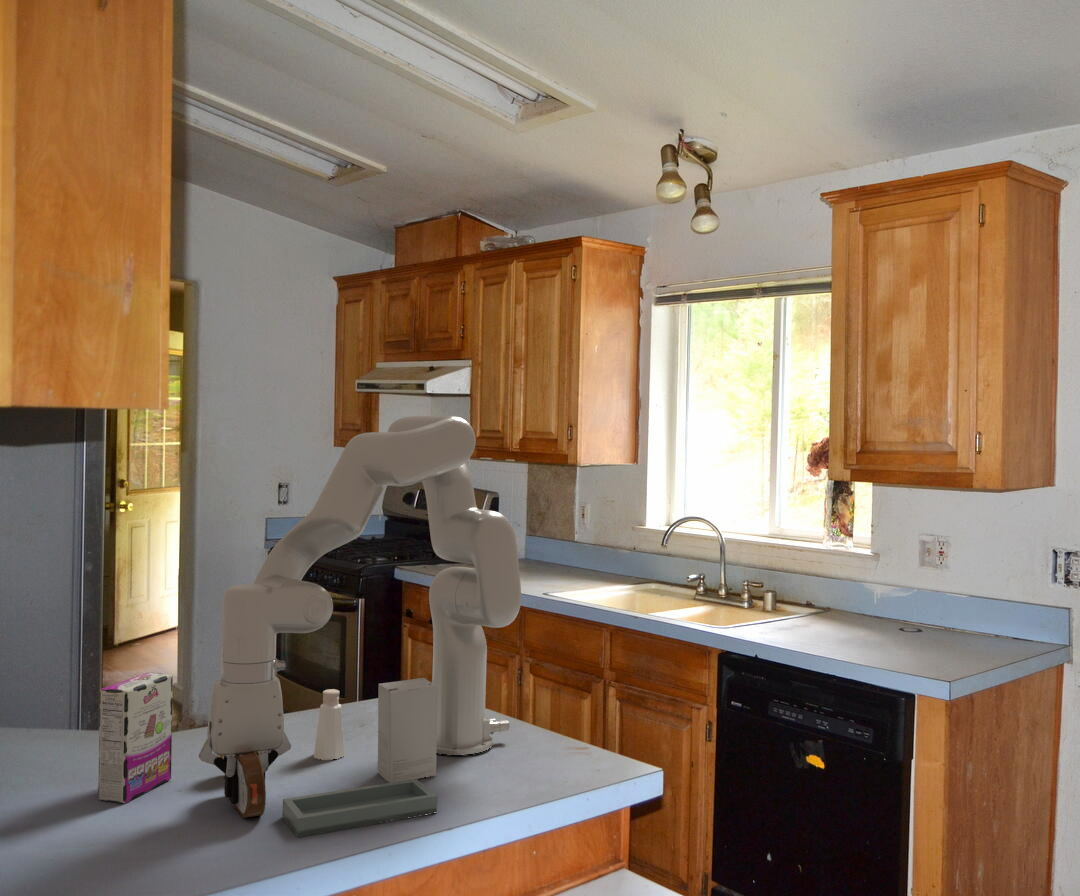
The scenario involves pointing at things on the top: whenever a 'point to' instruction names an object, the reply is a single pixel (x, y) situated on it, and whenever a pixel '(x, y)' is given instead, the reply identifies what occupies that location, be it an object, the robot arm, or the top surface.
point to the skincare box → (407, 729)
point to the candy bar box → (135, 736)
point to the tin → (250, 785)
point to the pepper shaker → (329, 728)
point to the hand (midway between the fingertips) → (244, 798)
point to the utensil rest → (357, 807)
